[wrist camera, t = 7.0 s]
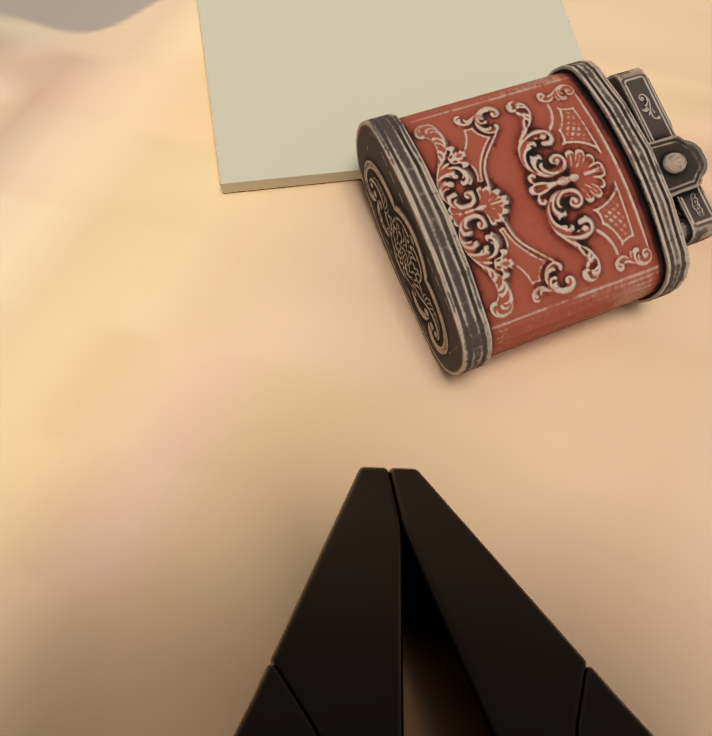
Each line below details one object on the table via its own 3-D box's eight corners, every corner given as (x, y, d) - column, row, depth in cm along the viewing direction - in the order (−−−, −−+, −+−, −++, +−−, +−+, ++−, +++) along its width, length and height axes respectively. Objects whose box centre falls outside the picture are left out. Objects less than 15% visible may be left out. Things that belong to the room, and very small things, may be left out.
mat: (223, 193, 17) (220, 184, 17) (198, -1, 19) (195, -14, 19) (606, 153, 19) (613, 144, 18) (544, -21, 21) (550, -33, 20)
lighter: (441, 382, 16) (693, 285, 18) (479, 364, 13) (783, 247, 15) (350, 162, 17) (598, 89, 19) (364, 92, 14) (663, 12, 16)
